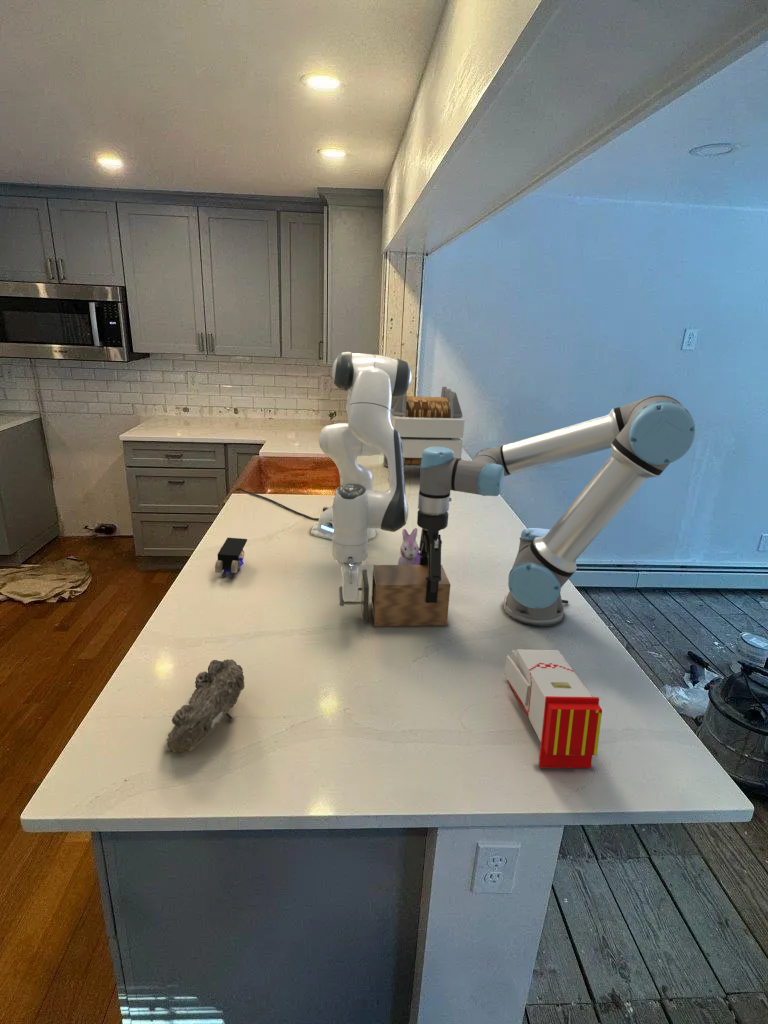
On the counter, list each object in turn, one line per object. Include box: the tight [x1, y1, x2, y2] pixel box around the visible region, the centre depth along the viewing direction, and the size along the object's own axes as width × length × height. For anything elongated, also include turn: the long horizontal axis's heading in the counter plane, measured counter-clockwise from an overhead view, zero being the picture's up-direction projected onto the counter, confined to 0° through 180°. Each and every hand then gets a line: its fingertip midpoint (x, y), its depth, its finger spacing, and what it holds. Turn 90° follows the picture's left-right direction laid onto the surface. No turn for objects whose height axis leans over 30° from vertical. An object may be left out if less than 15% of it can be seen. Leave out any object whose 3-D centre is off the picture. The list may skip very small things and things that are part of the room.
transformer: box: [383, 386, 465, 468], centre depth 268 cm, size 34×33×41 cm
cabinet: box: [371, 564, 451, 627], centre depth 146 cm, size 18×11×12 cm, turn 95°
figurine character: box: [214, 537, 248, 578], centre depth 166 cm, size 7×8×15 cm
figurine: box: [398, 527, 422, 565], centre depth 166 cm, size 9×10×15 cm
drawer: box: [338, 569, 376, 622], centre depth 145 cm, size 23×10×10 cm, turn 95°
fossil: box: [166, 658, 245, 754], centre depth 106 cm, size 22×10×15 cm
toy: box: [504, 648, 603, 769], centre depth 111 cm, size 12×13×30 cm
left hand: (348, 599), depth 144 cm, fingers closed
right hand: (427, 590), depth 146 cm, fingers closed on cabinet, 11 cm apart
